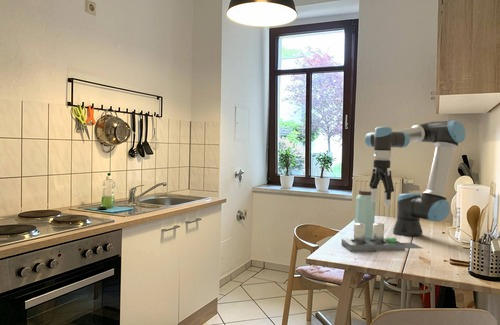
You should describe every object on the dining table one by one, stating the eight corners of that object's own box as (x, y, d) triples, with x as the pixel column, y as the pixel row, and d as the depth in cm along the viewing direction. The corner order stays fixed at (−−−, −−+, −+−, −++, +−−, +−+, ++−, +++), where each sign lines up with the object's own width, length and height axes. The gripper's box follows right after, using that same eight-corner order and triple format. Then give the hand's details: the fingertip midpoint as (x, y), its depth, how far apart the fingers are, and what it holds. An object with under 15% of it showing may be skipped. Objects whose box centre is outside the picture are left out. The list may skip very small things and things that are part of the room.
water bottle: (374, 240, 187) (377, 192, 186) (354, 239, 189) (356, 191, 188) (372, 236, 197) (374, 190, 196) (353, 234, 199) (355, 189, 198)
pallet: (392, 244, 181) (392, 238, 181) (404, 251, 169) (405, 245, 169) (341, 244, 178) (341, 238, 178) (350, 251, 166) (351, 245, 166)
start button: (393, 241, 177) (393, 237, 177) (397, 244, 173) (398, 239, 173) (385, 241, 176) (385, 237, 176) (389, 244, 172) (389, 239, 172)
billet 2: (380, 243, 177) (381, 222, 177) (385, 245, 172) (386, 224, 172) (370, 243, 176) (371, 222, 176) (375, 246, 171) (375, 224, 171)
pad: (411, 243, 183) (411, 242, 183) (423, 249, 173) (423, 248, 173) (392, 243, 182) (393, 242, 182) (403, 249, 172) (403, 248, 172)
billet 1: (361, 243, 176) (362, 222, 175) (366, 246, 171) (367, 225, 170) (351, 243, 175) (352, 222, 175) (355, 246, 170) (356, 225, 170)
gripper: (363, 158, 184) (362, 200, 185) (387, 160, 160) (385, 208, 161) (377, 158, 185) (376, 200, 186) (403, 160, 160) (401, 208, 161)
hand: (380, 204), depth 173 cm, fingers open, 13 cm apart
